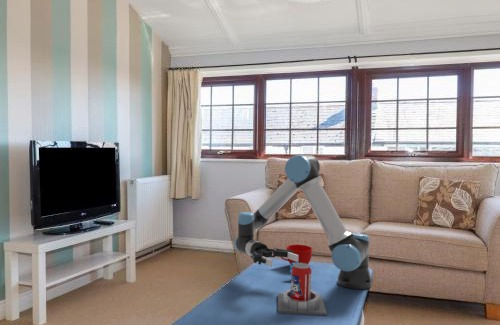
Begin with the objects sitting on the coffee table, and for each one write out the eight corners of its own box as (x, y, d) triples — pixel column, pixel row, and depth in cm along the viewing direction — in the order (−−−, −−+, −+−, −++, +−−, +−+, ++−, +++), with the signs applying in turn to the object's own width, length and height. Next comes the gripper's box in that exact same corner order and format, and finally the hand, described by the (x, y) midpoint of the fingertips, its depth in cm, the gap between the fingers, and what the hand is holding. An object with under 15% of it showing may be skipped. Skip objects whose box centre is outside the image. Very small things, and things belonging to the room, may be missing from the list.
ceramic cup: (276, 263, 220) (277, 244, 220) (308, 263, 222) (308, 244, 221) (281, 271, 207) (281, 251, 207) (314, 270, 209) (315, 251, 209)
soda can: (313, 306, 161) (314, 267, 160) (293, 307, 160) (294, 268, 159) (306, 298, 169) (308, 261, 168) (288, 299, 168) (289, 262, 167)
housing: (321, 297, 173) (321, 288, 173) (326, 315, 155) (327, 305, 155) (277, 295, 174) (278, 286, 174) (278, 313, 156) (278, 302, 156)
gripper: (278, 254, 199) (307, 265, 181) (233, 261, 186) (259, 274, 168) (279, 238, 199) (308, 248, 181) (233, 245, 185) (259, 256, 167)
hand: (284, 260), depth 174 cm, fingers open, 13 cm apart
